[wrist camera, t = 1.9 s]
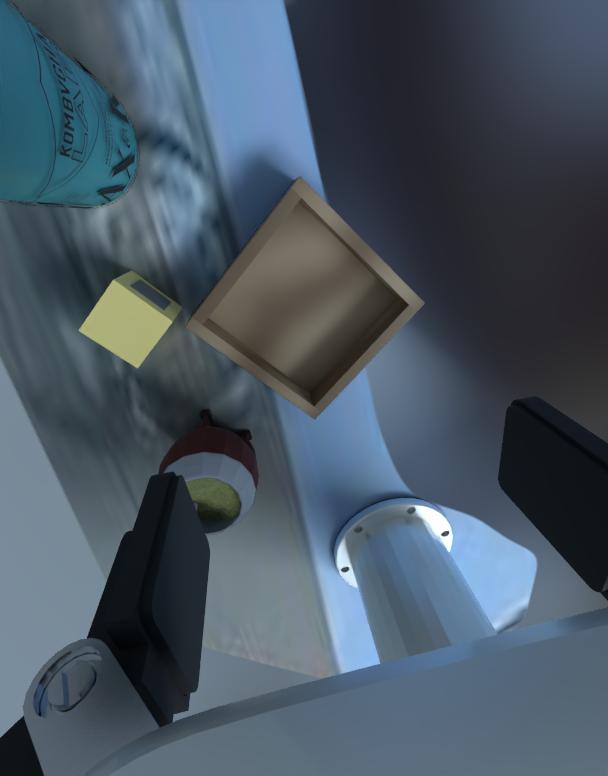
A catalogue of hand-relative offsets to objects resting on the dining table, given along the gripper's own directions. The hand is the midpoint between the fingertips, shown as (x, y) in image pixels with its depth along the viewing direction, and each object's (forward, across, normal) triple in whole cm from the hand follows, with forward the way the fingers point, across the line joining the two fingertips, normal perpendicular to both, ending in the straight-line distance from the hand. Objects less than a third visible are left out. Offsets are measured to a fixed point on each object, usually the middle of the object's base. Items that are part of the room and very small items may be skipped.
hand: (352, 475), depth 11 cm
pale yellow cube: (+20, +10, -1) cm, 22 cm away
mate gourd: (+20, +8, +11) cm, 24 cm away
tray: (+20, -1, 0) cm, 20 cm away
